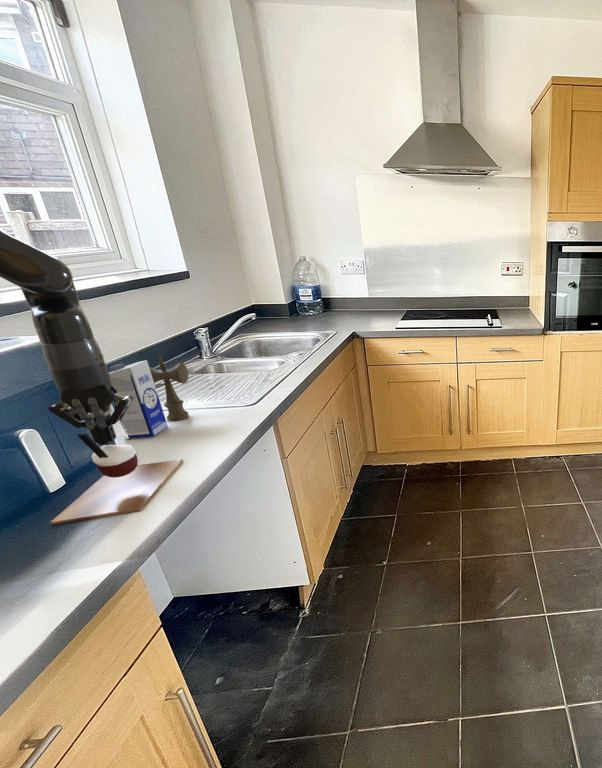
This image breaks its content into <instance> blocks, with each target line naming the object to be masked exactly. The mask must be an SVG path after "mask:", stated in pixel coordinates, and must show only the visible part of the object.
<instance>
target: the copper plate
mask: <svg viewBox="0 0 602 768" xmlns="http://www.w3.org/2000/svg"><path fill="white" fill-rule="evenodd" d="M183 462H184V461H183V459H173V460H165V461H159V462H149V463H143V464H138V465H137V467H136V468H135V470H134V471H132V472H131V473H129V474H128V475H125V476H122V477H116V478H112V477H108V476H105V475H102V476H101V477H100V478H99V479H97V480H96V481H95V482H94V483H93V484H92V485H91V486H90V487H88V488H87V490H85V491H84V492H83V493H81V495H80V496H79V497H77V498H76V499H75V500H74V501H73V502H72V503H70V504H69V505H68V506H67V507H65V508H64V509H63V510H62V512H60V513H59V514H58V515H57V516H55V518H53V519H52V520H51V521H50V524H51V525H52V526H53V525H58V524H65V523H72V522H79V521H83V520H84V521H85V520H91V519H97V518H105V517H111V516H118V515H124V514H130V513H137V512H141V511H142V510H143V509H144V508H145V506H146V505H148V503H149V502H150V501H151V499H152V498H153V497H154V496H155V495H156V493H158V491H159V490H160V489H161V488H162V487H163V485H164V484H165V483H166V482H167V480H169V479H170V477H172V475H174V472H175V471H176V470H177V469H178V468H179V467H180V465H182V463H183Z"/></svg>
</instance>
